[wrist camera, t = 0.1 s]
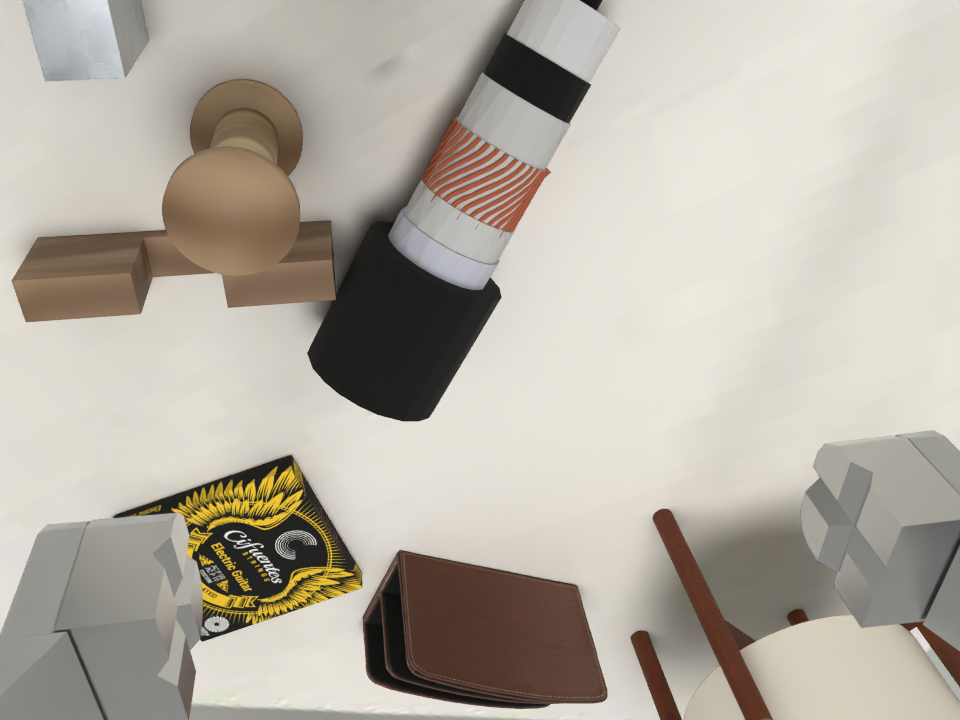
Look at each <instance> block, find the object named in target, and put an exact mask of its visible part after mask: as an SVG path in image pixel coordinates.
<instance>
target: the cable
mask: <svg viewBox="0 0 960 720" xmlns="http://www.w3.org/2000/svg"><path fill="white" fill-rule="evenodd" d="M601 2H602V0H524V2H523V4H522V6H521V8H520V10H519V12H518V14H517V15H516V17H515V19H514V21H513V23H512V25H511V27H510V29H509V30H508V32H507V34H504V36H503V38H502V39H501V41H500V43H499V45H498V47H497V49H496V51H495V53H494V55H493V57H492V58H491V60H490V62H489V64H488V66H487V68H486V70H485V72H482V73H481V75H480V77H479V79H478V81H477V82H476V84H475V86H474V88H473V90H472V92H471V94H470V96H469V98H468V100H467V101H466V103H465V105H464V107H463V109H462V111H461V113H460V115H459V117H453V119H452V122H451V123H450V125H449V127H448V129H447V131H446V133H445V134H444V137H443V139H442V140H441V142H440V144H439V146H438V148H437V151H436V153H435V154H434V156H433V158H432V159H431V162H430V164H429V166H428V168H427V169H426V171H425V173H424V175H423V177H422V178H421V180H420V182H419V184H418V186H417V188H416V190H415V192H414V193H413V195H412V197H411V199H410V201H409V203H408V205H407V207H404V208H403V209H401V211H400V213H399V215H398V217H397V219H396V221H395V223H388V222H376V223H375V224H373V225H371V226H370V228H369V230H368V232H367V234H366V236H365V238H364V240H363V242H362V244H361V246H360V248H359V250H358V252H357V254H356V256H355V258H354V260H353V262H352V264H351V266H350V268H349V270H348V272H347V274H346V276H345V278H344V280H343V282H342V284H341V286H340V288H339V290H338V292H337V294H336V300H333V302H332V304H331V306H330V308H329V310H328V312H327V314H326V316H325V318H324V320H323V322H322V324H321V326H320V328H319V330H318V332H317V334H316V336H315V338H314V340H313V342H312V344H311V346H310V349H309V351H308V353H307V354H308V356H309V359H310V362H311V365H312V367H313V369H314V370H315V371H316V373H317V374H318V375H319V376H320V377H321V378H322V379H323V381H324V382H325V383H326V384H328V385H329V386H330V387H331V388H332V389H334V390H335V391H336V392H337V393H338V394H340V395H341V396H343V397H345V398H346V399H348V400H350V401H351V402H353V403H355V404H356V405H358V406H360V407H362V408H364V409H366V410H369V411H371V412H373V413H375V414H377V415H381V416H385V417H388V418H392V419H396V420H400V421H421V420H424V419H427V418H429V417H430V415H431V414H432V412H433V411H434V409H435V408H436V406H437V404H438V403H439V401H440V399H441V398H442V396H443V394H444V393H445V391H446V389H447V388H448V386H449V384H450V382H451V381H452V379H453V377H454V376H455V374H456V372H457V371H458V369H459V367H460V366H461V364H462V362H463V361H464V359H465V357H466V356H467V354H468V352H469V351H470V349H471V347H472V346H473V344H474V342H475V341H476V339H477V337H478V336H479V334H480V332H481V331H482V329H483V327H484V326H485V324H486V322H487V320H488V319H489V317H490V315H491V314H492V312H493V310H494V309H495V307H496V305H497V304H498V302H499V300H500V299H501V293H500V289H499V287H498V286H497V285H496V284H495V282H494V281H493V280H492V279H491V278H490V276H491V274H492V273H493V271H494V269H495V268H496V266H497V264H498V263H499V260H498V259H499V257H500V255H501V254H502V252H503V250H504V248H505V247H506V245H507V244H508V242H509V240H510V238H511V236H512V235H513V233H514V230H515V228H516V226H517V224H518V222H519V221H520V219H521V218H522V216H523V214H524V212H525V210H526V209H527V207H528V205H529V204H530V202H531V200H532V198H533V197H534V195H535V193H536V192H537V190H538V188H539V186H540V185H541V183H542V181H543V180H544V178H545V177H546V176H547V175H549V174H550V173H551V172H550V171H549V170H548V169H547V168H546V167H547V165H548V163H549V161H550V160H551V158H552V156H553V154H554V153H555V151H556V149H557V147H558V146H559V144H560V142H561V141H562V139H563V137H564V135H565V134H566V132H567V130H568V128H569V127H570V125H571V124H570V121H571V119H572V117H573V116H574V114H575V112H576V110H577V109H578V107H579V105H580V103H581V102H582V100H583V98H584V96H585V95H586V93H587V91H588V89H589V88H590V86H591V84H589V82H590V80H591V79H592V77H593V75H594V74H595V72H596V70H597V68H598V67H599V65H600V63H601V61H602V60H603V58H604V56H605V55H606V53H607V51H608V49H609V48H610V46H611V44H612V42H613V41H614V39H615V37H616V36H617V34H618V32H619V30H620V28H619V27H618V26H617V25H616V24H615V23H613V22H612V21H611V20H609V19H608V18H606V17H605V16H603V15H602V14H600V13H599V12H597V9H598V7H599V5H600V4H601Z"/></svg>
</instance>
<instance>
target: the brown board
mask: <svg viewBox="0 0 960 720" xmlns="http://www.w3.org/2000/svg"><path fill="white" fill-rule="evenodd" d="M207 273H215V272H212V271H209V270H206V269H204V268H202V267H200V266H198V265H197V264H195V263H193V262H192V261H190V260H189V259H188V258H186V257H185V256H184V255H183V254H182V253H181V252H180V251H179V250H178V249H177V247H176V246H175V245H174V244H173V242H172V240H171V239H170V237H169V235H168V233H167V231H166V230H163V231H146V232H130V233H113V234H96V235H79V236H62V237H45V238H37V240H36V242H35V243H34V245H33V246H32V248H31V250H30V251H29V253H28V255H27V256H26V258H25V260H24V261H23V263H22V265H21V266H20V268H19V269H18V271H17V273H16V274H15V276H14V278H13V279H12V283H13V286H14V289H15V292H16V295H17V298H18V301H19V304H20V306H21V309H22V312H23V315H24V318H25V321H26V322H36V321H50V320H64V319H78V318H92V317H106V316H120V315H134V314H141V312H142V309H143V306H144V303H145V299H146V296H147V293H148V290H149V287H150V284H151V281H152V278H153V277H161V276H177V275H192V274H207ZM222 277H223V283H224V288H225V294H226V299H227V304H228V308H231V307H245V306H259V305H273V304H286V303H300V302H314V301H328V300H336V291H335V268H334V252H333V242H332V232H331V222H330V221H316V222H300V225H299V231H298V235H297V238H296V241H295V243H294V245H293V246H292V248H291V250H290V251H289V252H288V254H287V255H286V256H285V257H284V258H283V259H282V260H281V261H280V262H278V263H277V264H275V265H274V266H272V267H270V268H268V269H266V270H264V271H261V272H259V273H255V274H250V275H242V276H232V275H224V274H222Z"/></svg>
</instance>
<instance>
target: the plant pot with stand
mask: <svg viewBox="0 0 960 720" xmlns="http://www.w3.org/2000/svg"><path fill="white" fill-rule="evenodd" d="M653 521H654V523H655V525H656V527H657V529H658V532H659V534H660V536H661V538H662V540H663V542H664V545H665V547H666V549H667V551H668V553H669V555H670V558H671V560H672V562H673V564H674V566H675V569H676V571H677V573H678V575H679V577H680V579H681V582H682V584H683V586H684V588H685V590H686V592H687V595H688V597H689V599H690V601H691V603H692V605H693V608H694V610H695V612H696V614H697V616H698V618H699V621H700V623H701V625H702V627H703V629H704V632H705V634H706V636H707V638H708V640H709V642H710V645H711V647H712V649H713V651H714V653H715V655H716V658H717V660H718V662H719V664H720V666H718V667H717V668H716V669H715V670H714V671H713V672H712V673H711V674H710V675H709V676H708V677H707V678H706V679H705V680H704V681H703V682H702V683H701V685H700V686H699V687H698V689H697V690H696V691H695V693H694V694H693V696H692V698H691V700H690V701H689V703H688V706H687V708H686V711H685V715H684V720H960V701H959V699H958V698H957V696H956V695H955V693H954V692H953V691H952V689H951V688H950V686H949V685H948V684H947V682H946V681H945V679H944V678H943V676H942V675H941V674H940V672H939V671H938V669H937V668H936V667H935V665H934V664H933V662H932V661H931V660H930V658H929V656H928V655H927V654H926V652H925V651H924V649H923V648H922V647H921V645H920V644H919V642H918V641H917V639H916V638H915V637H914V636H913V635H912V633H911V632H910V630H912V629H914V628H915V627H917V628H918V629H919V631H920V632H921V634H922V635H923V636H924V638H925V639H926V641H927V642H928V643H929V645H930V646H931V648H932V649H933V650H934V652H935V653H936V654H937V656H938V657H939V659H940V660H941V662H942V663H943V664H944V666H945V667H946V668H947V670H948V671H949V673H950V674H951V676H952V677H953V678H954V680H955V681H956V682H957V684H958V685H959V687H960V651H959V650H957V649H956V648H955V647H953V646H952V645H950V644H949V643H948V642H946V641H945V640H943V639H942V638H941V637H939V636H938V635H937V634H935V633H934V632H932V631H931V630H930V629H928V628H927V627H926V626H924V625H923V623H924V621H922V622H913V623H904V624H894V625H885V626H876V627H867V628H861V627H860V625H859V624H858V622H857V621H856V619H855V618H854V616H853V615H842V616H832V617H826V618H820V619H815V620H811V621H809V619H808V618H807V616H806V614H805V613H804V611H803V610H795V611H793V612H791V613H790V614H789V615H788V620H789V622H790V624H791V625H792V626H790V627H788V628H785V629H782V630H779V631H777V632H775V633H772V634H770V635H768V636H766V637H764V638H761V639H759V640H758V641H755V640H753V639H752V638H750V637H749V636H747V635H746V634H744V633H743V632H741V631H740V630H739V629H737V628H736V627H734V626H733V625H731V624H730V623H728V622H727V621H725V620H724V618H723V616H722V614H721V612H720V610H719V608H718V606H717V604H716V602H715V600H714V598H713V596H712V594H711V592H710V590H709V588H708V586H707V584H706V582H705V580H704V578H703V575H702V573H701V571H700V569H699V567H698V565H697V563H696V561H695V559H694V557H693V555H692V553H691V551H690V549H689V547H688V545H687V543H686V541H685V539H684V537H683V535H682V533H681V531H680V529H679V527H678V524H677V522H676V520H675V518H674V516H673V514H672V512H671V511H670V510H667V509H663V510H659V511H658V512H656V513H655V514H654V516H653ZM631 641H632V644H633V647H634V649H635V652H636V655H637V657H638V660H639V663H640V665H641V668H642V671H643V674H644V676H645V679H646V682H647V684H648V687H649V690H650V692H651V695H652V698H653V701H654V703H655V706H656V709H657V711H658V714H659V717H660V719H661V720H682V719H681V716H680V714H679V711H678V708H677V706H676V703H675V701H674V698H673V696H672V693H671V691H670V688H669V686H668V683H667V680H666V678H665V675H664V673H663V670H662V668H661V665H660V663H659V660H658V658H657V655H656V652H655V650H654V647H653V645H652V642H651V640H650V637H649V635H648V633H647V632H645V631H638V632H636V633H634V634H633V635H632V637H631Z"/></svg>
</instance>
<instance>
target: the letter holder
mask: <svg viewBox="0 0 960 720" xmlns="http://www.w3.org/2000/svg"><path fill="white" fill-rule="evenodd" d="M363 632H364V643H365V657H366V672H367V675H368V677H369V679H370V680H371V681H372V682H374V683H375V684H378V685H380V686H383V687H385V688H388V689H391V690H395V691H399V692H403V693H408V694H413V695H417V696H422V697H427V698H432V699H437V700H443V701H449V702H455V703H462V704H469V705H477V706H486V707H498V708H515V709H532V708H543V707H547V706H549V705H550V704H559V703H599V702H603V701H605V700H606V698H607V696H608V695H607V687H606V684H605V681H604V677H603V674H602V670H601V667H600V664H599V660H598V656H597V652H596V648H595V645H594V641H593V638H592V635H591V631H590V628H589V625H588V622H587V618H586V614H585V611H584V608H583V604H582V600H581V596H580V593H579V590H578V588H577V586H576V585H570V584H564V583H558V582H553V581H548V580H543V579H538V578H533V577H528V576H523V575H518V574H513V573H509V572H504V571H498V570H494V569H489V568H484V567H479V566H474V565H469V564H464V563H459V562H454V561H449V560H444V559H439V558H434V557H430V556H424V555H419V554H415V553H410V552H405V551H399V552H398V554H397V555H396V557H395V559H394V561H393V563H392V564H391V566H390V568H389V570H388V572H387V574H386V575H385V577H384V579H383V581H382V583H381V585H380V587H379V588H378V590H377V592H376V594H375V596H374V598H373V599H372V601H371V603H370V605H369V607H368V609H367V611H366V613H365V615H364V617H363Z"/></svg>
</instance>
